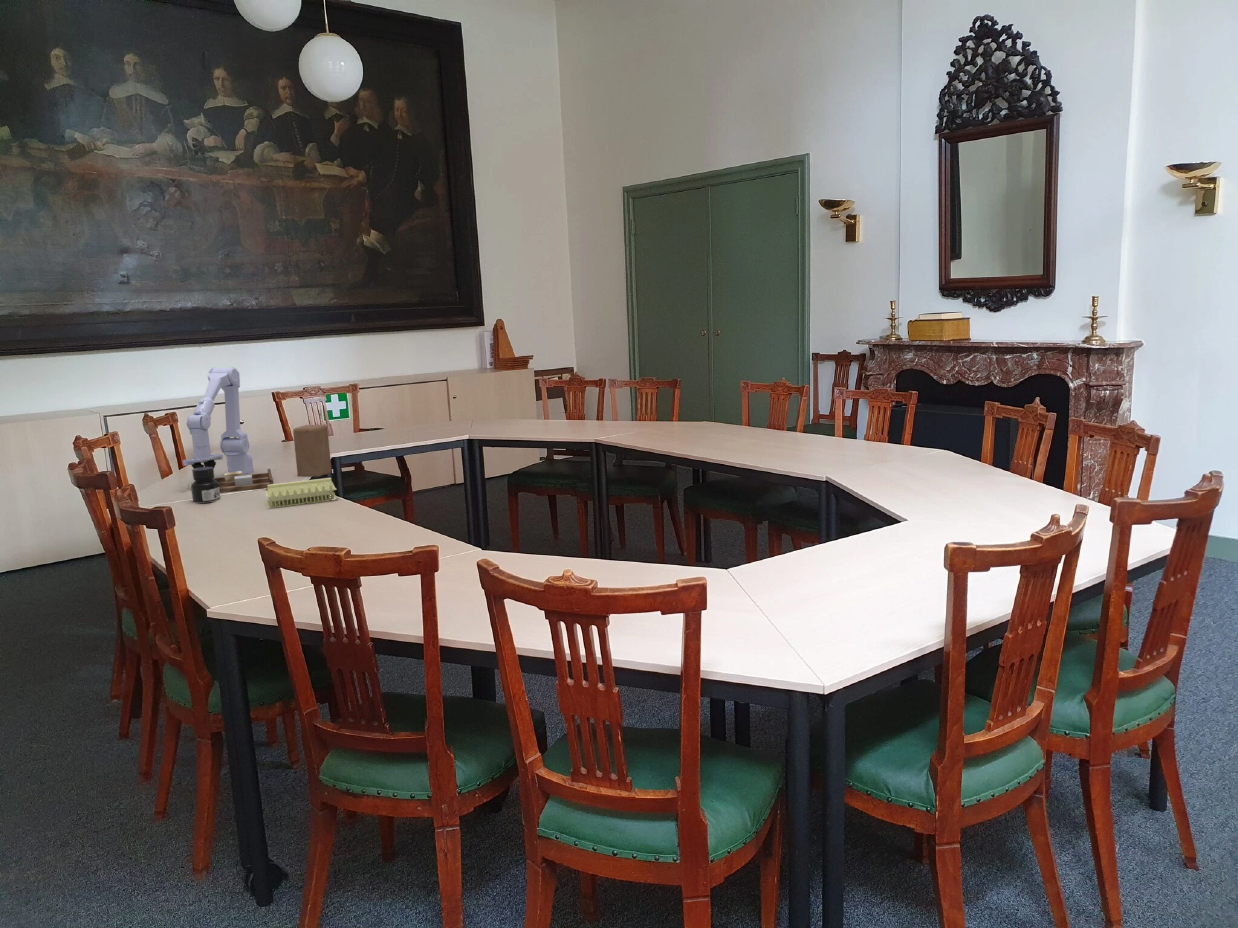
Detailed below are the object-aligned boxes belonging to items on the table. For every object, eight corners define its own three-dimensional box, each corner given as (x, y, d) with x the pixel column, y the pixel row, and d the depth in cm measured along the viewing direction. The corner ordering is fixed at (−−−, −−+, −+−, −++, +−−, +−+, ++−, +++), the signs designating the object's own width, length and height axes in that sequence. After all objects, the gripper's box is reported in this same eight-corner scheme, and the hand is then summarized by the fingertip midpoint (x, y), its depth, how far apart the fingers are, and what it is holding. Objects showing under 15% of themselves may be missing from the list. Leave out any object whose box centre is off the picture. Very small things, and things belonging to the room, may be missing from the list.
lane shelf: (203, 497, 317) (202, 486, 317) (205, 484, 339) (203, 475, 338) (273, 489, 327) (272, 479, 326) (271, 477, 348) (270, 468, 348)
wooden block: (319, 478, 344) (314, 428, 341) (296, 478, 346) (291, 428, 343) (332, 473, 354) (328, 424, 350) (310, 472, 356) (305, 424, 352)
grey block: (235, 489, 325) (234, 478, 324) (235, 486, 330) (234, 476, 329) (253, 487, 327) (251, 477, 327) (252, 485, 332) (251, 474, 331)
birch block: (205, 488, 330) (203, 474, 329) (206, 485, 334) (203, 472, 333) (243, 483, 335) (240, 469, 334) (242, 480, 339) (240, 467, 338)
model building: (335, 493, 319) (334, 474, 318) (341, 500, 307) (339, 480, 306) (262, 502, 309) (260, 482, 307) (265, 510, 297) (262, 489, 295)
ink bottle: (209, 505, 305) (204, 471, 302) (186, 504, 307) (182, 471, 304) (226, 498, 314) (222, 466, 312) (204, 498, 316) (200, 465, 314)
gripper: (214, 442, 338) (218, 476, 341) (177, 448, 327) (181, 483, 330) (224, 443, 334) (228, 478, 337) (186, 449, 323) (191, 485, 325)
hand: (205, 481), depth 333 cm, fingers closed on birch block, 2 cm apart
